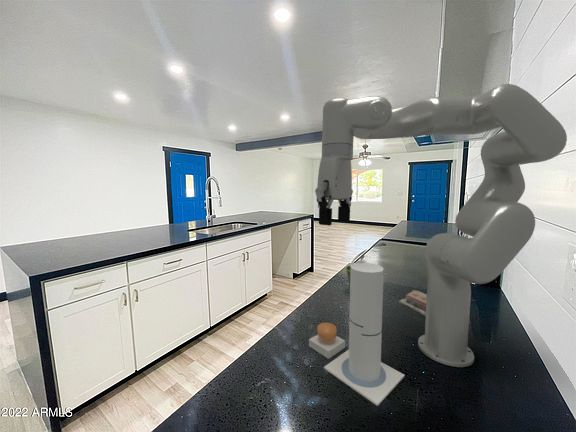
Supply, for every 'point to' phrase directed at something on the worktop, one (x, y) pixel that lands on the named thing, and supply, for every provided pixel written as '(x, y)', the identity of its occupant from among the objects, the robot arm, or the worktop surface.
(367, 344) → the cylindrical container
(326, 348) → the button housing
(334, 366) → the white flat plate
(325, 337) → the button
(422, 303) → the packaged product
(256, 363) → the worktop surface
